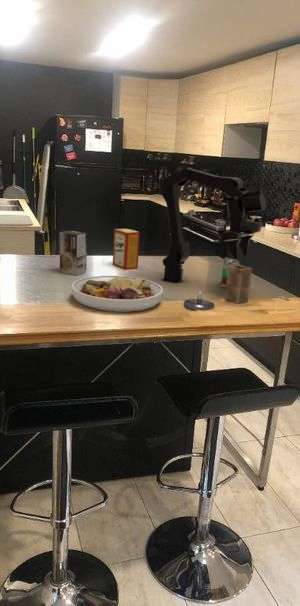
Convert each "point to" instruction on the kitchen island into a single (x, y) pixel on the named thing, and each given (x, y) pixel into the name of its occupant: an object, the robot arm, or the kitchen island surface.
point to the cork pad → (236, 304)
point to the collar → (238, 284)
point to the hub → (198, 303)
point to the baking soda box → (126, 249)
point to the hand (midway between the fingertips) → (241, 257)
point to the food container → (226, 264)
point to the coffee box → (73, 252)
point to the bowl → (117, 293)
